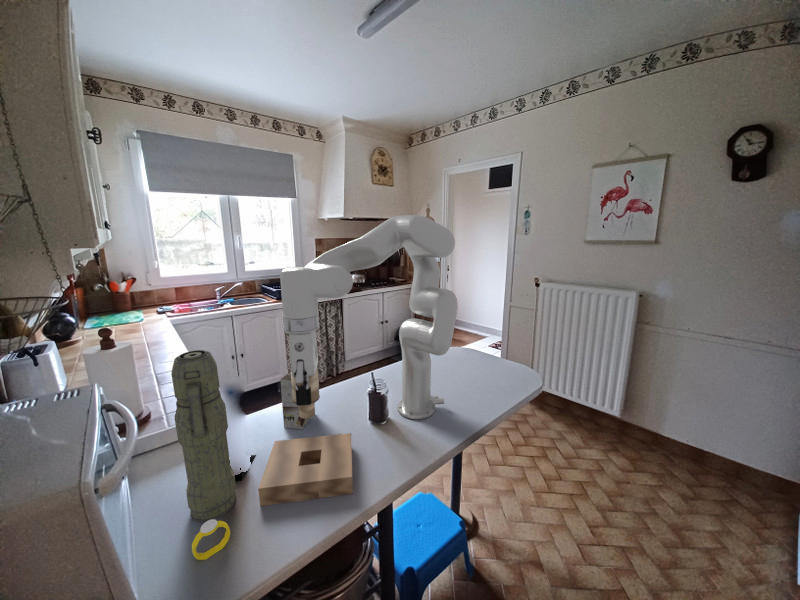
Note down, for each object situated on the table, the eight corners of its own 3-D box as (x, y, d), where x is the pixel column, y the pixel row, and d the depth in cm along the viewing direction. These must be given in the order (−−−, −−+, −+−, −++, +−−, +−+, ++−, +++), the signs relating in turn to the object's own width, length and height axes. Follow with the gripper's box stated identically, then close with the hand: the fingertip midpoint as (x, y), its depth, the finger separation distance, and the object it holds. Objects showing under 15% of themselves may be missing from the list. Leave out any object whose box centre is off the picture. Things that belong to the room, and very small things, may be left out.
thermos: (191, 537, 60) (163, 370, 53) (189, 496, 70) (165, 350, 63) (241, 514, 65) (222, 359, 58) (233, 479, 75) (215, 341, 68)
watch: (198, 569, 55) (190, 544, 53) (193, 558, 57) (186, 533, 55) (234, 544, 59) (228, 519, 57) (228, 534, 61) (223, 510, 59)
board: (351, 447, 86) (351, 433, 85) (352, 493, 71) (352, 476, 70) (276, 455, 83) (274, 441, 82) (260, 506, 67) (258, 488, 66)
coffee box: (302, 430, 94) (298, 381, 91) (283, 427, 95) (279, 379, 92) (316, 413, 103) (313, 368, 99) (298, 411, 104) (295, 366, 101)
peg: (321, 406, 77) (319, 364, 75) (319, 420, 71) (317, 375, 69) (295, 408, 76) (293, 366, 74) (291, 422, 70) (288, 377, 68)
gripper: (315, 333, 61) (319, 416, 65) (321, 313, 78) (324, 379, 81) (275, 335, 60) (281, 419, 64) (290, 314, 77) (295, 381, 80)
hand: (306, 396), depth 72 cm, fingers closed on peg, 6 cm apart
